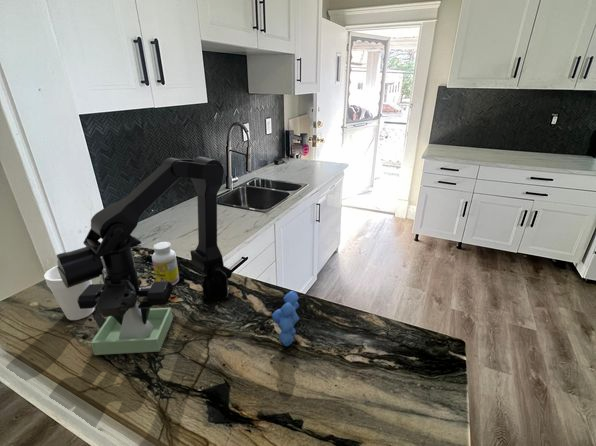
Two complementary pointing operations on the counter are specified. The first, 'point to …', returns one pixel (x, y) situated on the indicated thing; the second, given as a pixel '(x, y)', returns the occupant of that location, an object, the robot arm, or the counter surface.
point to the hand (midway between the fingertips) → (134, 323)
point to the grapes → (287, 318)
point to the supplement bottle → (165, 263)
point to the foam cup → (67, 295)
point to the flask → (134, 325)
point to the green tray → (111, 343)
